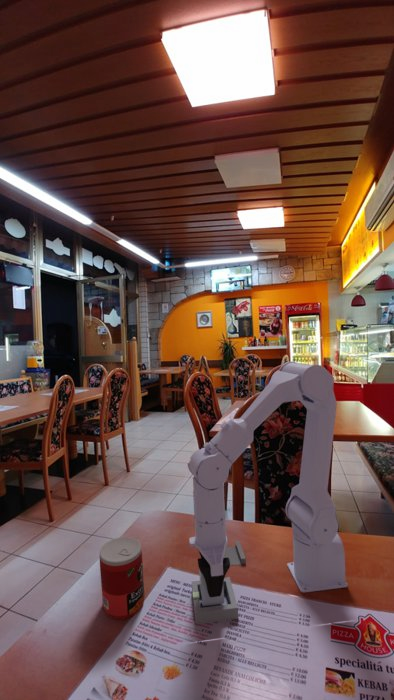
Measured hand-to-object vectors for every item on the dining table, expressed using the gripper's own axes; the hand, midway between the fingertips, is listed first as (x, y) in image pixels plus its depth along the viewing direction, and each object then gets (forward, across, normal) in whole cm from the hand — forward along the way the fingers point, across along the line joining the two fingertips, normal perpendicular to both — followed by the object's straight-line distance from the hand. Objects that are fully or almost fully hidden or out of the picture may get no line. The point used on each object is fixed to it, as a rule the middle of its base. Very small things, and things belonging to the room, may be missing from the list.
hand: (213, 585), depth 63 cm
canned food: (+4, -3, -17) cm, 18 cm away
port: (+4, 0, 0) cm, 4 cm away
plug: (+2, 0, 0) cm, 2 cm away
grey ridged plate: (+4, -13, +5) cm, 14 cm away
